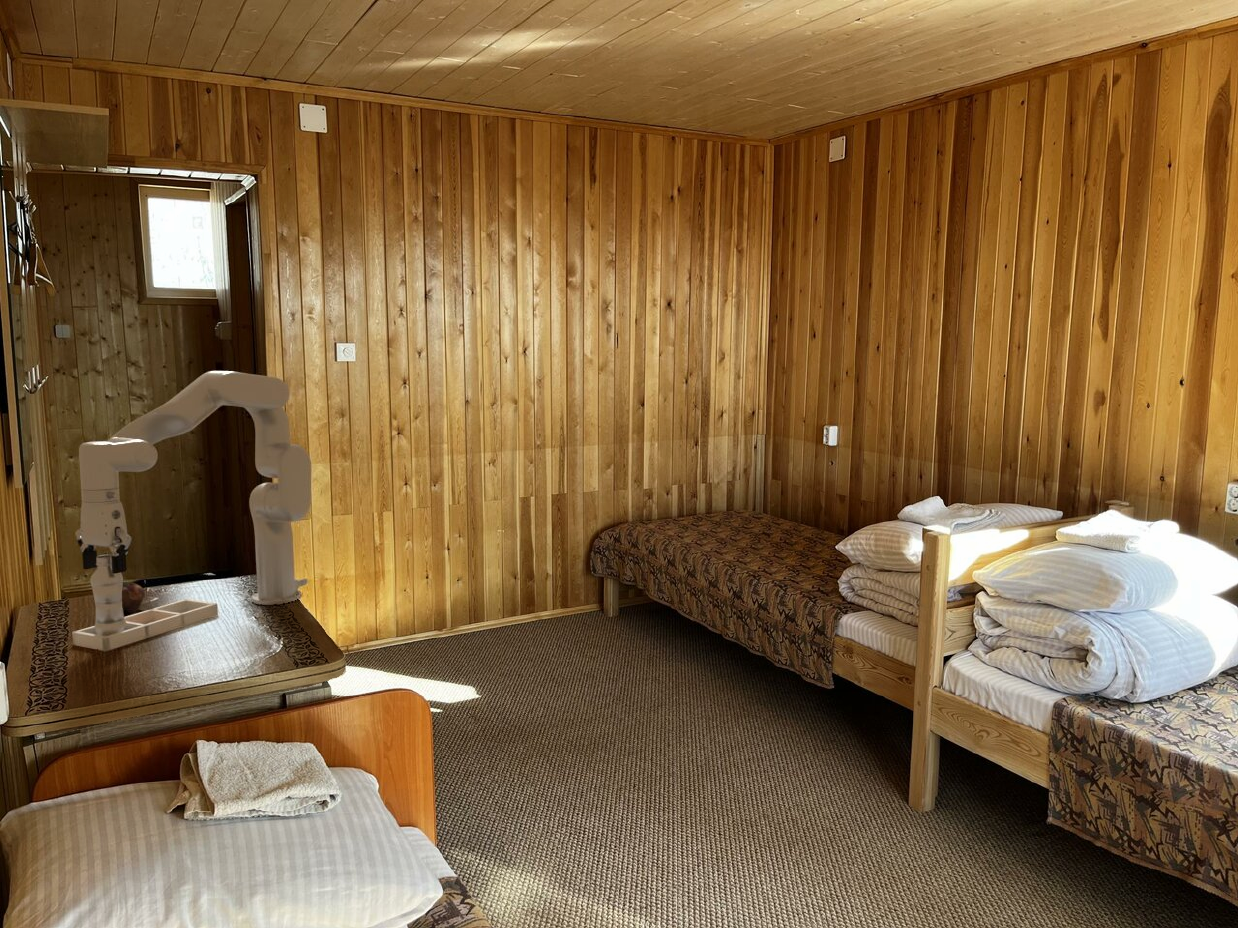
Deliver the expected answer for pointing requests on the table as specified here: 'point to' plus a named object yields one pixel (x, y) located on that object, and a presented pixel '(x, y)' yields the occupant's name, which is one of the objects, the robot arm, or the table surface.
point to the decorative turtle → (132, 597)
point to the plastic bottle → (107, 598)
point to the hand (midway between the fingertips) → (104, 570)
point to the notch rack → (148, 624)
